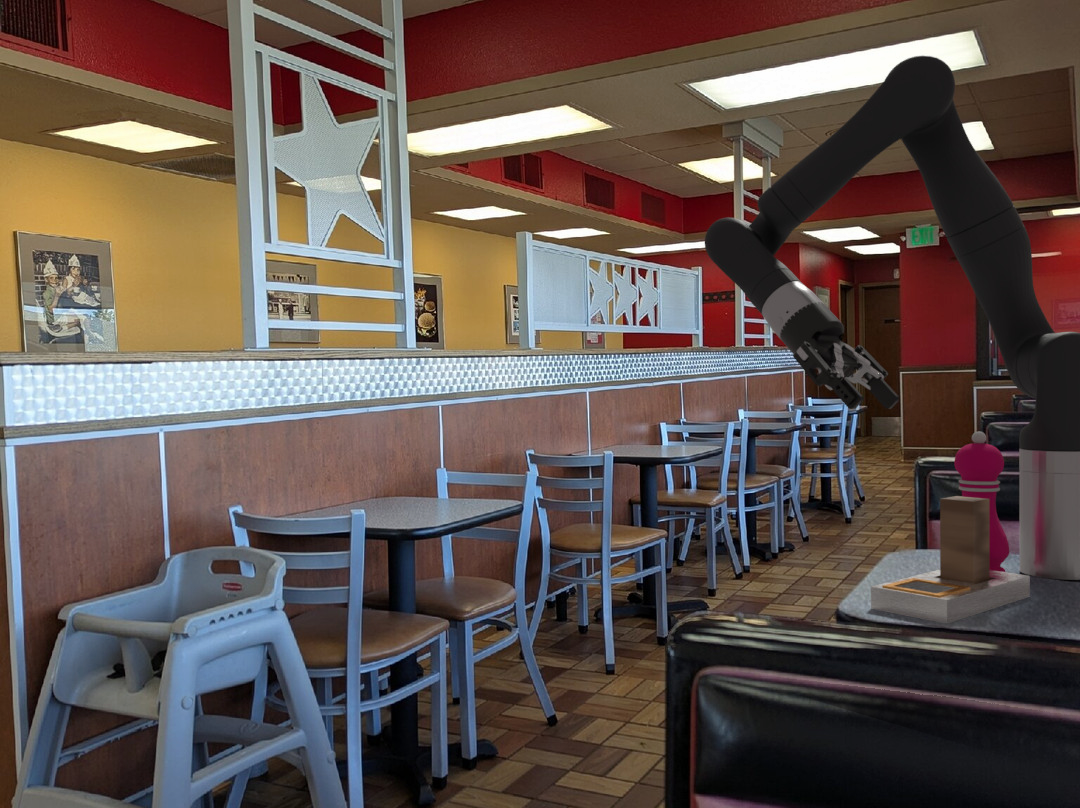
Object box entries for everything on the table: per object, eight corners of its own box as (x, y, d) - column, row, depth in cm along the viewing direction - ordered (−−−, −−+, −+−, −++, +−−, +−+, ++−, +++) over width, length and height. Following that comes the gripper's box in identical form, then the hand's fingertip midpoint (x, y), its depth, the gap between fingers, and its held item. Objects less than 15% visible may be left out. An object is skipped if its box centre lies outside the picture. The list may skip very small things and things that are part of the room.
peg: (956, 593, 113) (956, 496, 113) (989, 598, 110) (989, 498, 110) (940, 598, 111) (940, 498, 111) (973, 603, 108) (973, 501, 108)
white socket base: (956, 588, 119) (956, 563, 118) (1029, 600, 112) (1029, 574, 112) (871, 612, 106) (870, 584, 106) (946, 627, 99) (947, 598, 99)
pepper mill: (958, 573, 128) (958, 429, 128) (1015, 579, 124) (1015, 430, 124) (942, 581, 123) (942, 431, 123) (1001, 588, 118) (1001, 433, 118)
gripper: (786, 297, 122) (864, 383, 113) (847, 304, 130) (924, 384, 122) (753, 339, 126) (826, 425, 117) (815, 343, 135) (887, 423, 126)
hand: (876, 404), depth 119 cm, fingers open, 8 cm apart
